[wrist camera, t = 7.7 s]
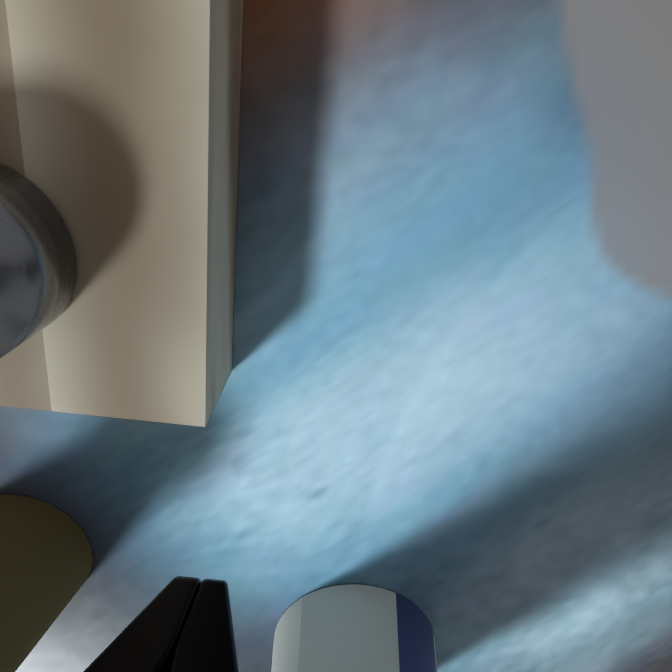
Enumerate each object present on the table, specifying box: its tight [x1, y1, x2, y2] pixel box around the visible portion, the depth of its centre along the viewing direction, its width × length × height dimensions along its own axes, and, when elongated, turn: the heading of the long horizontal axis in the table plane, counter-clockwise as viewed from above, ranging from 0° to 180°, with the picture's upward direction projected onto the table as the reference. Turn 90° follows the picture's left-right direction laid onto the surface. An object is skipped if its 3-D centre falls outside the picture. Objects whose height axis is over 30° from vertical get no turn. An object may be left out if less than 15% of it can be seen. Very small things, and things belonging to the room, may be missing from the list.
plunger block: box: [0, 0, 243, 427], centre depth 15 cm, size 12×20×4 cm, turn 174°
